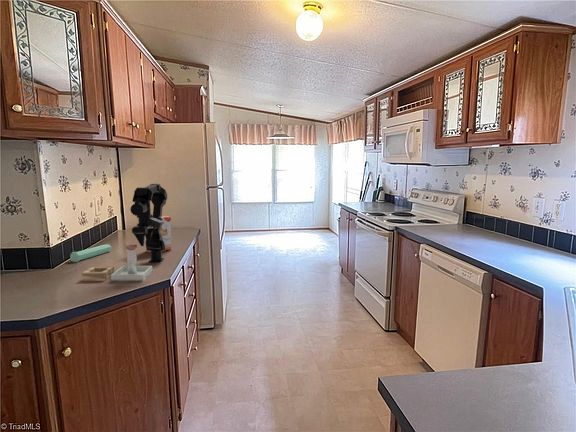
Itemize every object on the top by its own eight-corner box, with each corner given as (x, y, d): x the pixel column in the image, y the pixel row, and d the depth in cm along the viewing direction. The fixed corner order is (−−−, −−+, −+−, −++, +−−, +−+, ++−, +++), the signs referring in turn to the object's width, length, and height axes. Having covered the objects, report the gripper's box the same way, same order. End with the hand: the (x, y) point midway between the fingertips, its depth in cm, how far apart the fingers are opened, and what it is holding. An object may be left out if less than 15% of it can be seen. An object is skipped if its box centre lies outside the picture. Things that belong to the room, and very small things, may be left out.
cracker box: (148, 253, 207) (146, 218, 204) (145, 251, 212) (144, 217, 209) (172, 250, 215) (170, 216, 212) (168, 248, 220) (167, 215, 217)
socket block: (92, 273, 168) (92, 266, 167) (114, 273, 168) (114, 266, 168) (82, 280, 158) (81, 273, 157) (105, 280, 159) (104, 273, 158)
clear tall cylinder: (126, 274, 166) (125, 245, 164) (137, 272, 168) (136, 244, 166) (127, 276, 162) (126, 247, 160) (138, 275, 164) (137, 246, 162)
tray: (123, 271, 172) (123, 265, 171) (152, 271, 173) (152, 265, 172) (111, 281, 158) (110, 274, 157) (143, 281, 159) (142, 274, 158)
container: (106, 241, 211) (71, 250, 187) (114, 245, 210) (80, 255, 186) (104, 249, 212) (68, 259, 188) (111, 254, 211) (77, 264, 187)
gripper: (155, 215, 163) (156, 248, 165) (166, 210, 182) (167, 240, 184) (130, 215, 163) (132, 248, 165) (144, 210, 181) (145, 240, 183)
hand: (145, 244), depth 174 cm, fingers open, 9 cm apart
